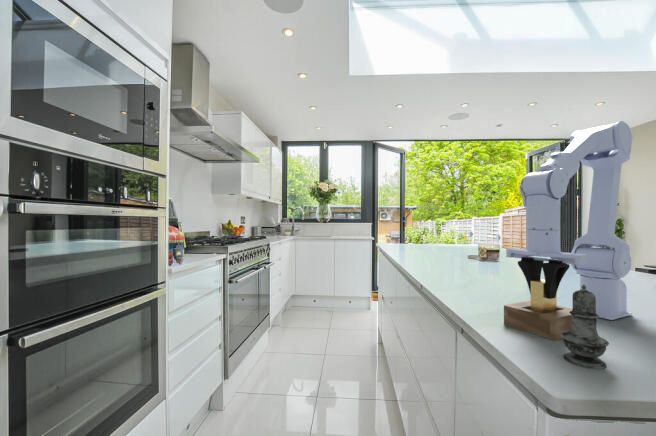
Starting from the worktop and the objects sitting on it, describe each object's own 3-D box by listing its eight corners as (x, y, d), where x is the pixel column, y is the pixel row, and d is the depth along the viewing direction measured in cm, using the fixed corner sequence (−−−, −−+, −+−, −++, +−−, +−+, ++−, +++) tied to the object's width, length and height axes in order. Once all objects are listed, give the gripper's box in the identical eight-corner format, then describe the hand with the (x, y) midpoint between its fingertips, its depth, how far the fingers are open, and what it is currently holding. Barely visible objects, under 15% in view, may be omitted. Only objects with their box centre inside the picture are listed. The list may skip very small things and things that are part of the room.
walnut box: (533, 317, 72) (533, 300, 72) (584, 331, 63) (584, 311, 63) (503, 324, 67) (503, 305, 67) (554, 340, 58) (554, 318, 58)
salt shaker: (618, 371, 46) (618, 289, 47) (573, 367, 48) (573, 287, 48) (594, 354, 52) (593, 281, 52) (553, 351, 53) (553, 280, 53)
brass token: (543, 307, 67) (543, 279, 67) (556, 310, 65) (556, 281, 65) (530, 309, 65) (530, 280, 65) (543, 313, 63) (543, 282, 63)
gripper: (497, 229, 70) (497, 290, 70) (571, 231, 57) (571, 307, 57) (517, 228, 73) (517, 288, 73) (592, 230, 60) (592, 302, 60)
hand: (542, 296), depth 65 cm, fingers closed on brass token, 2 cm apart
